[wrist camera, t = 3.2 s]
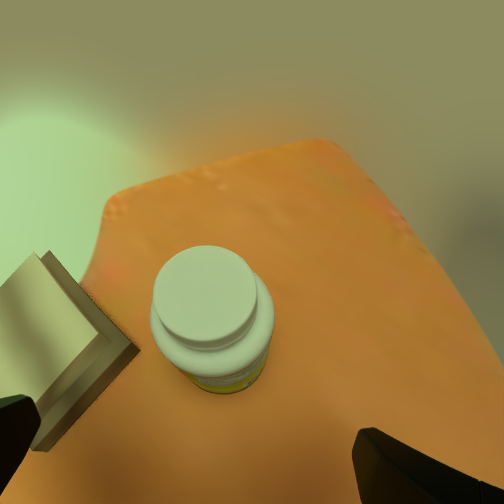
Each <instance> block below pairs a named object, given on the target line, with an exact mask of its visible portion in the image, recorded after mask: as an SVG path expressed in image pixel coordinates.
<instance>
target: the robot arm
mask: <svg viewBox="0 0 504 504" xmlns="http://www.w3.org/2000/svg"><path fill="white" fill-rule="evenodd" d="M40 426H41V417H40V415H39V412H38V410H37V407H36V405H35V403H34V400H33V399H32V398H31V397H29V396H26V395H23V394H18V395H13V396H9V397H4V398H0V496H1V494H2V492H3V491H4V489H5V487H6V486H7V484H8V483H9V481H10V479H11V478H12V476H13V475H14V473H15V472H16V470H17V468H18V467H19V465H20V464H21V462H22V461H23V459H24V457H25V455H26V453H27V451H28V449H29V447H30V445H31V443H32V441H33V439H34V437H35V436H36V434H37V432H38V430H39V428H40ZM352 460H353V465H354V470H355V475H356V480H357V485H358V490H359V495H360V499H361V502H362V504H504V490H503V489H500V488H498V487H495V486H493V485H490V484H488V483H486V482H483V481H479V480H478V479H475V478H473V477H471V476H469V475H466V474H464V473H462V472H460V471H458V470H456V469H454V468H452V467H449V466H447V465H445V464H443V463H441V462H439V461H437V460H435V459H433V458H431V457H429V456H427V455H425V454H423V453H421V452H419V451H417V450H415V449H413V448H412V447H410V446H408V445H406V444H404V443H402V442H400V441H398V440H397V439H395V438H393V437H391V436H389V435H387V434H386V433H384V432H382V431H380V430H378V429H377V428H374V427H371V428H363V429H360V430H359V431H358V434H357V437H356V440H355V443H354V446H353V449H352Z"/></svg>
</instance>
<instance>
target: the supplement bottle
mask: <svg viewBox="0 0 504 504" xmlns="http://www.w3.org/2000/svg"><path fill="white" fill-rule="evenodd" d="M274 320H275V314H274V305H273V301H272V298H271V295H270V293H269V291H268V288H267V287H266V285H265V284H264V282H263V281H262V280H261V279H260V278H259V277H258V276H257V275H256V274H255V273H254V272H253V271H252V270H251V268H250V267H249V266H248V264H247V263H246V262H245V261H244V260H243V259H242V258H241V257H240V256H238V255H237V254H235V253H234V252H232V251H230V250H228V249H225V248H222V247H218V246H208V245H205V246H196V247H192V248H189V249H186V250H184V251H182V252H180V253H178V254H176V255H175V256H173V257H172V258H171V259H170V260H169V261H168V262H167V263H166V264H165V265H164V266H163V267H162V268H161V270H160V272H159V273H158V275H157V278H156V280H155V283H154V288H153V300H152V304H151V309H150V326H151V331H152V335H153V338H154V340H155V342H156V344H157V346H158V348H159V349H160V351H161V352H162V353H163V354H164V356H165V357H166V358H167V359H168V360H169V361H170V362H171V363H172V364H173V365H174V366H175V367H176V368H177V369H178V370H179V371H180V372H181V373H183V374H184V375H185V376H186V377H187V378H189V379H190V380H191V381H192V382H193V383H194V384H195V385H197V386H198V387H199V388H201V389H203V390H205V391H208V392H211V393H215V394H232V393H236V392H239V391H241V390H243V389H245V388H247V387H248V386H250V385H251V384H252V383H253V382H254V381H255V380H256V379H257V378H258V377H259V376H260V374H261V372H262V370H263V368H264V366H265V362H266V358H267V355H268V351H269V346H270V342H271V337H272V333H273V328H274Z"/></svg>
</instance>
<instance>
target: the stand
mask: <svg viewBox="0 0 504 504" xmlns="http://www.w3.org/2000/svg"><path fill="white" fill-rule="evenodd" d="M139 352H140V350H139V349H138V348H137V347H136V346H135V345H134V344H133V343H132V342H131V341H130V340H129V339H128V338H127V337H126V336H125V335H124V334H123V333H122V332H121V331H120V330H119V329H118V328H117V326H116V325H115V324H114V323H113V322H112V321H111V320H110V319H109V318H108V317H107V316H106V315H105V314H104V313H103V312H102V311H101V309H100V308H99V307H98V306H97V305H96V304H95V303H94V302H93V301H92V300H91V298H90V297H89V296H88V295H87V294H86V293H85V292H84V291H83V289H82V288H81V287H80V286H79V285H78V284H77V282H76V281H75V280H74V279H73V278H72V277H71V275H70V274H69V273H68V272H67V270H66V269H65V268H64V267H63V266H62V265H61V263H60V262H59V261H58V260H57V258H56V257H55V256H54V255H53V254H52V252H51V251H50V250H49V251H48V252H47V253H46V254H45V255H44V256H43V257H42V258H41V259H40V258H39V257H38V256H37V255H36V254H35V253H34V252H33V253H32V254H31V255H30V256H29V257H28V258H27V259H26V260H25V261H24V262H23V263H22V264H21V265H20V266H19V267H18V269H17V270H16V271H15V272H14V273H13V274H12V275H11V276H10V277H9V278H8V279H7V281H6V282H5V283H4V284H3V285H2V286H1V287H0V398H4V397H9V396H13V395H18V394H23V395H26V396H29V397H31V398H32V399H33V400H34V403H35V405H36V407H37V410H38V412H39V415H40V417H41V426H40V428H39V430H38V432H37V434H36V436H35V437H34V439H33V441H32V443H31V445H30V448H31V450H32V451H44V452H48V451H49V450H50V449H51V448H52V447H53V445H54V444H55V443H56V442H57V441H58V440H59V439H60V438H61V437H62V435H63V434H64V433H65V432H66V431H67V430H68V429H69V428H70V427H71V426H72V424H73V423H74V422H75V421H76V420H77V419H78V418H79V417H80V416H81V415H82V414H83V412H84V411H85V410H86V409H87V408H88V407H89V406H90V405H91V404H92V403H93V401H94V400H95V399H96V398H97V397H98V396H99V395H100V394H101V393H102V392H103V391H104V390H105V388H106V387H107V386H108V385H109V384H110V383H111V382H112V381H113V380H114V379H115V378H116V377H117V375H118V374H119V373H120V372H121V371H122V370H123V369H124V368H125V367H126V366H127V365H128V364H129V363H130V361H131V360H132V359H133V358H134V357H135V356H136V355H137V354H138V353H139Z"/></svg>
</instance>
